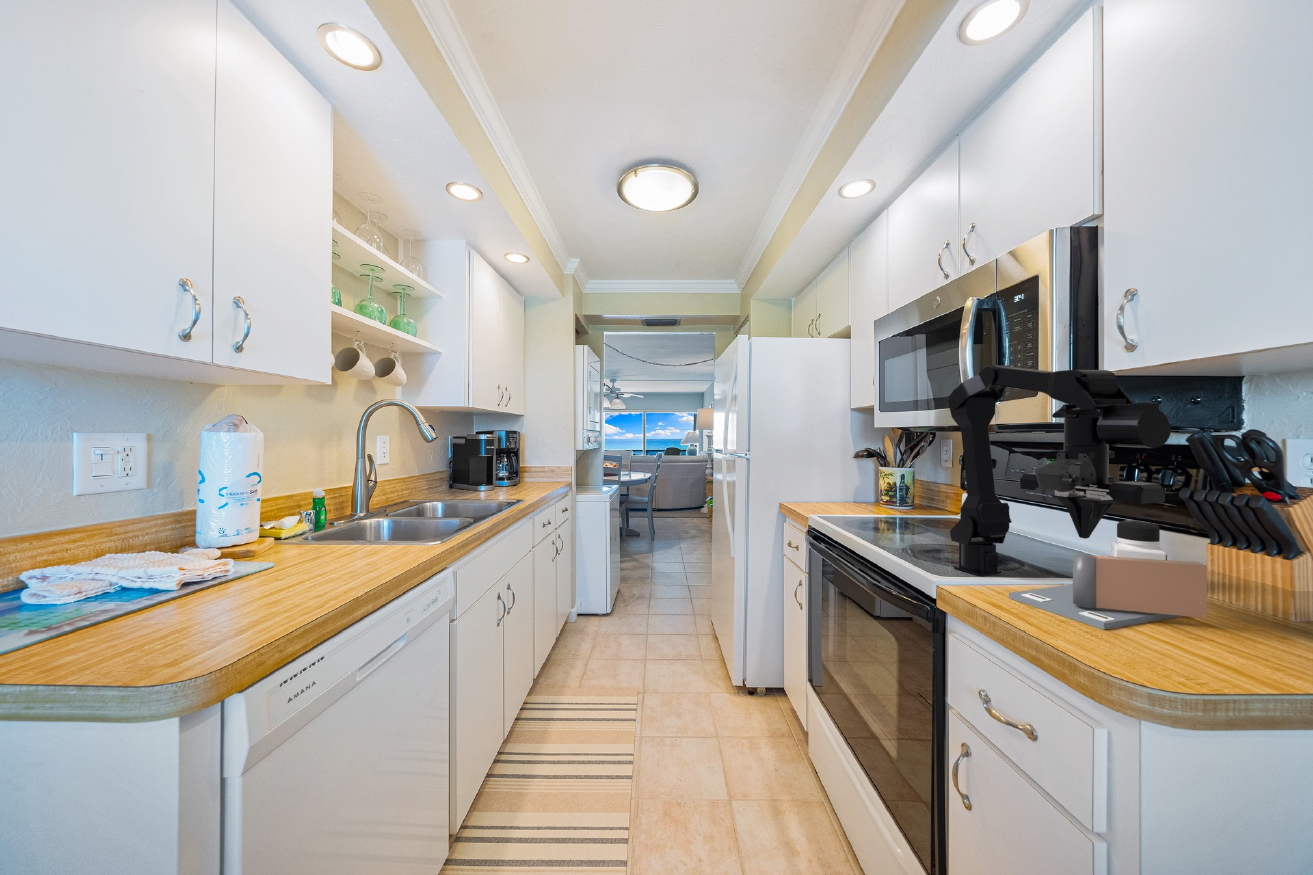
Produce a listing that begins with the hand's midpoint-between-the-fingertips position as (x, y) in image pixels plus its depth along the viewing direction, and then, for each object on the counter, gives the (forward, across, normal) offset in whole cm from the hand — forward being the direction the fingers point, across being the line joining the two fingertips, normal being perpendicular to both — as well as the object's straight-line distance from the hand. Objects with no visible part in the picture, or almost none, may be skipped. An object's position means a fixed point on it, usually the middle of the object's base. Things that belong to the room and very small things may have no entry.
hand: (1084, 537), depth 84 cm
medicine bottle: (+12, -7, +25) cm, 29 cm away
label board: (+12, 0, +3) cm, 13 cm away
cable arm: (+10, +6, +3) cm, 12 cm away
